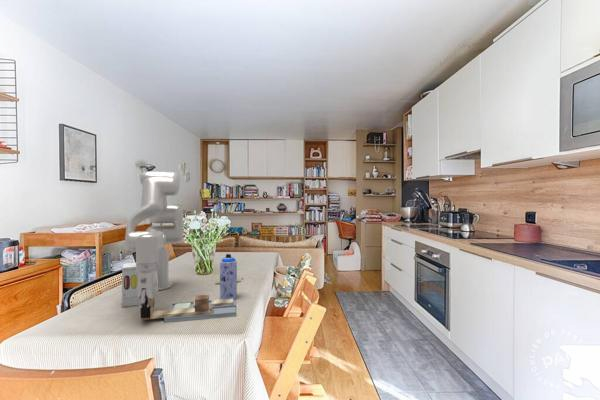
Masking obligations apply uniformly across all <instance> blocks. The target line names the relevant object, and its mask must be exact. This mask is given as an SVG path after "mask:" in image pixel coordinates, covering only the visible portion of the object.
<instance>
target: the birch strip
mask: <svg viewBox="0 0 600 400" xmlns="http://www.w3.org/2000/svg"><path fill="white" fill-rule="evenodd" d="M145 298H148V297H145ZM145 301H147V300H145ZM149 306H150V317H149V318H141V317H140V319H141V321H145V320H147V321H148V320H155V319H164V318H167V317H179V316H190V315H201V314H212V312H213V304H211V305H210V307H209V308H208V311H203V312H195V308H186V309H174V310H170V309H165V310H155V297H154V298H152V299H151V298H150V305H149Z"/></svg>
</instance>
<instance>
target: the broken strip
mask: <svg viewBox="0 0 600 400" xmlns="http://www.w3.org/2000/svg"><path fill="white" fill-rule="evenodd" d="M211 300H212V301H211V304H213V306H225V305H233V299H221V300H220V299H211ZM193 302H194V308H195V301H193Z"/></svg>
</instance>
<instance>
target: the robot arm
mask: <svg viewBox="0 0 600 400" xmlns="http://www.w3.org/2000/svg"><path fill="white" fill-rule="evenodd" d="M139 181H140V183H141V185H142V186H141V187H142V191H141V200H140V201H141V202H140V208H139V209H138V210H136V211H135V213H133V214H132V216H131V217H130V218H129V219H128V221H127V223H126V227H125V237H124V245H125V248H126V249H127V250H129V251H132V252H133V251H135V263H136V272H137V273H139V276H138V299H139V300H140V304H141V305H139V306H140V319H141V318H149V317H150V306H149V305H150V298H151V299H152V298H154V299H155V296H156V295H157V294H158V292H159V291H163V290H167V289H170V288H172V286H173V283H172V282H171V281H169V279H170V277H169V272H170V271H169V270H170V269H169V265H170V263H169V260H170V258H169V256H170V255H169V250H168V249H167V247H165V245H167V244H168V245H169V244H170V245H171V244H173V245H174V244H180V243H181V242H182V241H183V239H184V210H183V208H182V206H181V205H179V204H173V203H172V204H171V203H170V204H168V199H167V198H168V196H176V195H178V194H179V192H180V186H181V177H180V174H179V173H178V172H175V171H161V170H160V171H156V170H154V171H153V170H151V171H149V170H148V171H143V172H141V173H140V175H139ZM146 220H149V222H150V223H152V224H158V225H152V226H149V227H147V229H146V230H139V231H137V230H136V228H137V226H138V225H139V224H141V223H142V222H143V221H146ZM159 224H161V225H159ZM163 224H165V225H163ZM167 224H168V225H167ZM145 297H148V298H145ZM145 300H147V301H145Z"/></svg>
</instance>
